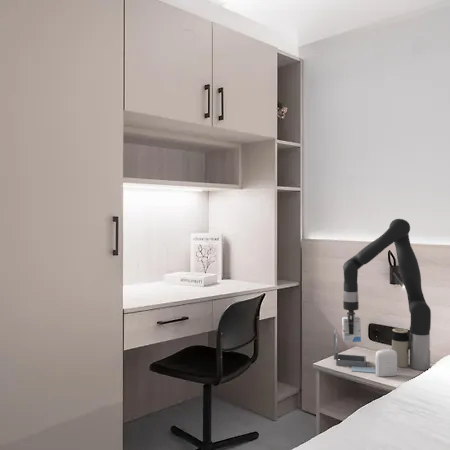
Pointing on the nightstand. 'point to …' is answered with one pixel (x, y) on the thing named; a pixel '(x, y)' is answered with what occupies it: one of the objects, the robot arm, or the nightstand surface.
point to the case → (347, 356)
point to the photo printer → (386, 363)
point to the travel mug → (401, 346)
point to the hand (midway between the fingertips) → (351, 332)
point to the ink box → (357, 331)
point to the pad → (363, 369)
